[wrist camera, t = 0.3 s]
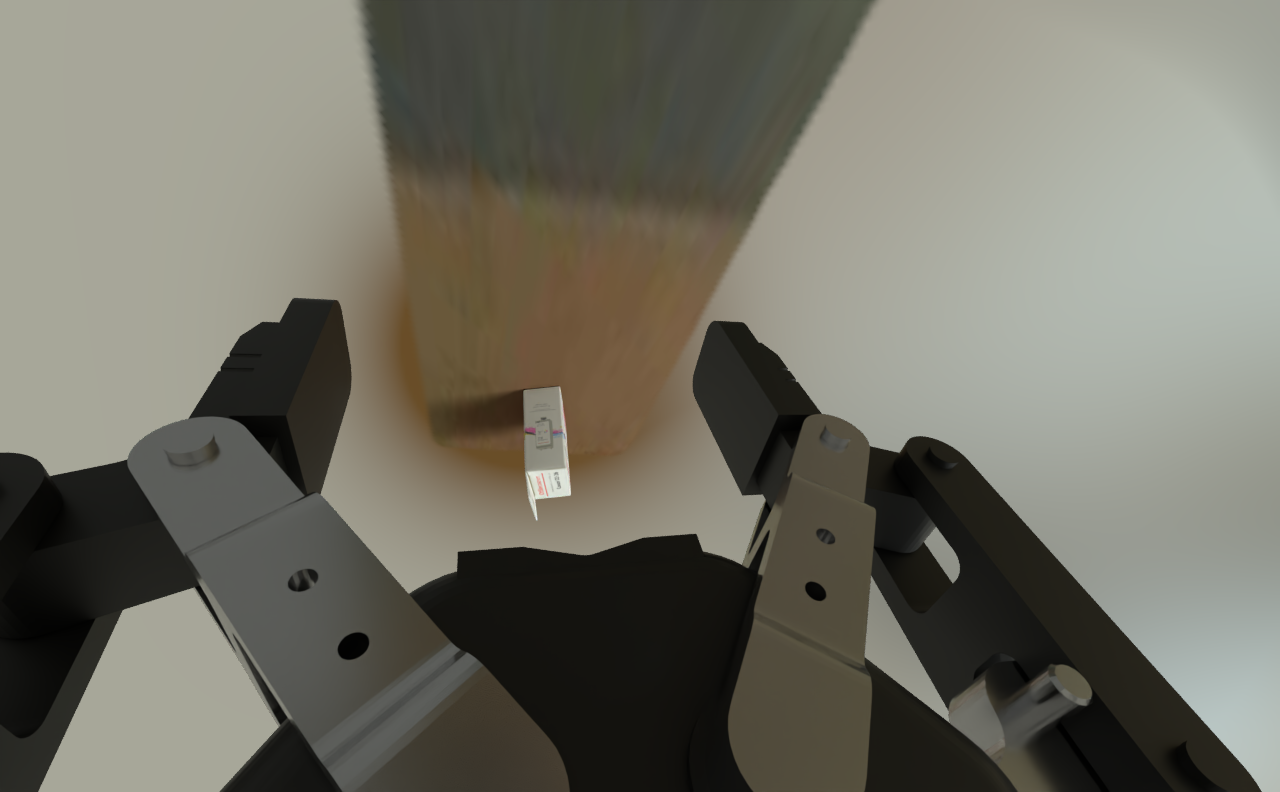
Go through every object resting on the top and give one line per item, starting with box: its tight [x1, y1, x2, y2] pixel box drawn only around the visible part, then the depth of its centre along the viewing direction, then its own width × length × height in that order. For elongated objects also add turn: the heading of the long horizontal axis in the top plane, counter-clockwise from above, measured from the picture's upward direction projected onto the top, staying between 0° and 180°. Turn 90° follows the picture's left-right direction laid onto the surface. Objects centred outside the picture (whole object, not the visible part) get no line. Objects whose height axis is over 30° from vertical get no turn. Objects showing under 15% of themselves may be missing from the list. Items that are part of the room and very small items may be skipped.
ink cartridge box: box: [523, 386, 571, 521], centre depth 67 cm, size 9×5×15 cm, turn 178°
